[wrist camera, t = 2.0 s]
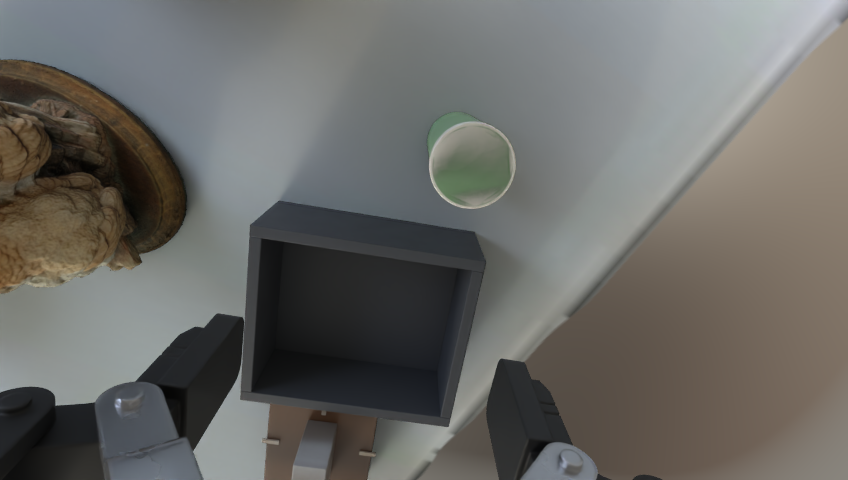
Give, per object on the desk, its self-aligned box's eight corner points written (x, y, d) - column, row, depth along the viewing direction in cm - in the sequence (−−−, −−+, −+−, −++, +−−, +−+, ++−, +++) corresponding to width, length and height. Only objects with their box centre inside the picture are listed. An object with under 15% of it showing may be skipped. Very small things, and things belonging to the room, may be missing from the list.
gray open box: (278, 200, 37) (249, 224, 30) (474, 231, 38) (486, 261, 31) (267, 351, 41) (239, 400, 34) (444, 375, 42) (448, 427, 36)
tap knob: (307, 419, 39) (291, 467, 34) (337, 423, 40) (326, 471, 35) (302, 470, 41) (286, 524, 36) (330, 474, 41) (318, 527, 36)
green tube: (431, 105, 34) (437, 115, 24) (492, 116, 35) (525, 130, 24) (421, 167, 36) (422, 201, 25) (479, 177, 36) (505, 215, 26)
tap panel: (276, 369, 41) (265, 391, 38) (386, 384, 42) (383, 407, 39) (269, 459, 44) (258, 486, 41) (371, 472, 45) (367, 499, 42)
